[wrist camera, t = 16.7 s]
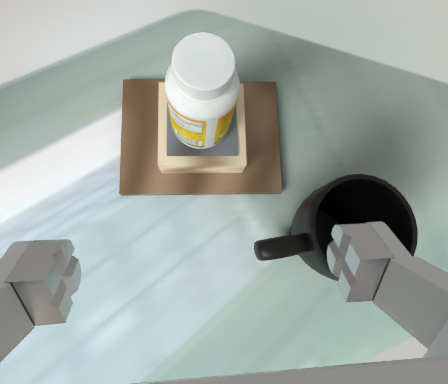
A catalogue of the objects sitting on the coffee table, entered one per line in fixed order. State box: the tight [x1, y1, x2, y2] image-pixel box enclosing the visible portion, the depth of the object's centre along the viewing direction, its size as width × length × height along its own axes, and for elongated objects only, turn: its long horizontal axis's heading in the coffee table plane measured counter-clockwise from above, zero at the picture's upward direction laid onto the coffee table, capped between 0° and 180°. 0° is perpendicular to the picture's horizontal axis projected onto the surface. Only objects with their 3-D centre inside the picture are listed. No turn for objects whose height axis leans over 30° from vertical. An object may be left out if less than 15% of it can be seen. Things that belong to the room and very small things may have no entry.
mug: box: [254, 174, 418, 281], centre depth 27 cm, size 8×12×10 cm
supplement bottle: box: [165, 32, 240, 149], centre depth 24 cm, size 5×5×10 cm
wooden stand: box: [119, 79, 282, 195], centre depth 31 cm, size 16×12×4 cm
